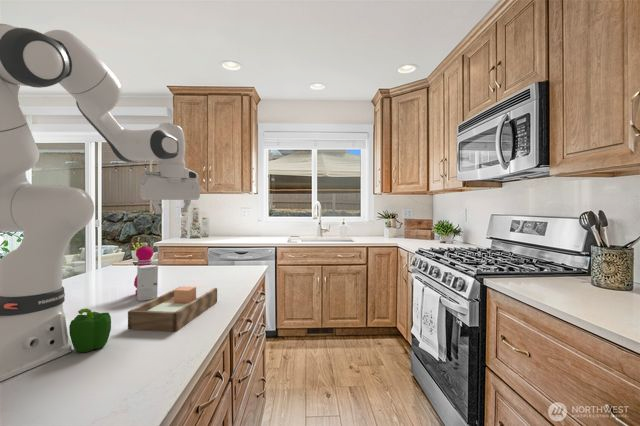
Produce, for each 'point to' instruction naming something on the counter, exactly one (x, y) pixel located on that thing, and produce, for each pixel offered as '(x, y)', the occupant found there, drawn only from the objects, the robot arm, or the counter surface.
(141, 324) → the box
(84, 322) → the bell pepper
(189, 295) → the block
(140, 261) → the pepper mill
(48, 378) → the counter surface
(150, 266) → the skincare box
